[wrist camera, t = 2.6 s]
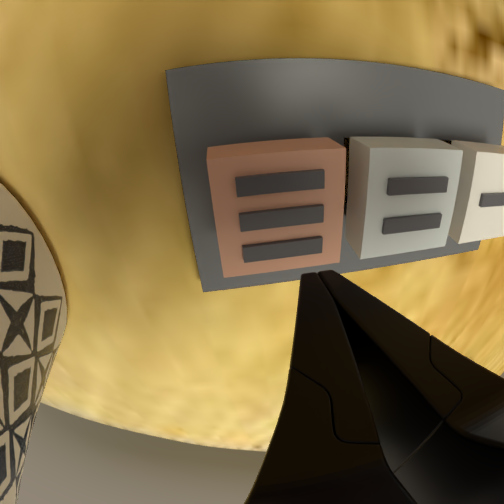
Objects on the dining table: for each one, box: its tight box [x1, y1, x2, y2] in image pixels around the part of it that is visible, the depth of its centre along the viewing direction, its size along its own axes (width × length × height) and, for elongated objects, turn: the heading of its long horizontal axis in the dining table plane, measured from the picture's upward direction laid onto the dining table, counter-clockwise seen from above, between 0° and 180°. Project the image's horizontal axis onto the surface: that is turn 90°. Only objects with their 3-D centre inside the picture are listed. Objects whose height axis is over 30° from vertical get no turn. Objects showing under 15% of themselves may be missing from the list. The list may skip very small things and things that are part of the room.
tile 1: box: [448, 140, 504, 244], centre depth 14 cm, size 5×5×4 cm
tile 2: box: [345, 137, 463, 259], centre depth 13 cm, size 5×5×4 cm
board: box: [166, 58, 504, 292], centre depth 16 cm, size 20×12×1 cm, turn 94°
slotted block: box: [206, 137, 346, 278], centre depth 13 cm, size 5×5×4 cm
